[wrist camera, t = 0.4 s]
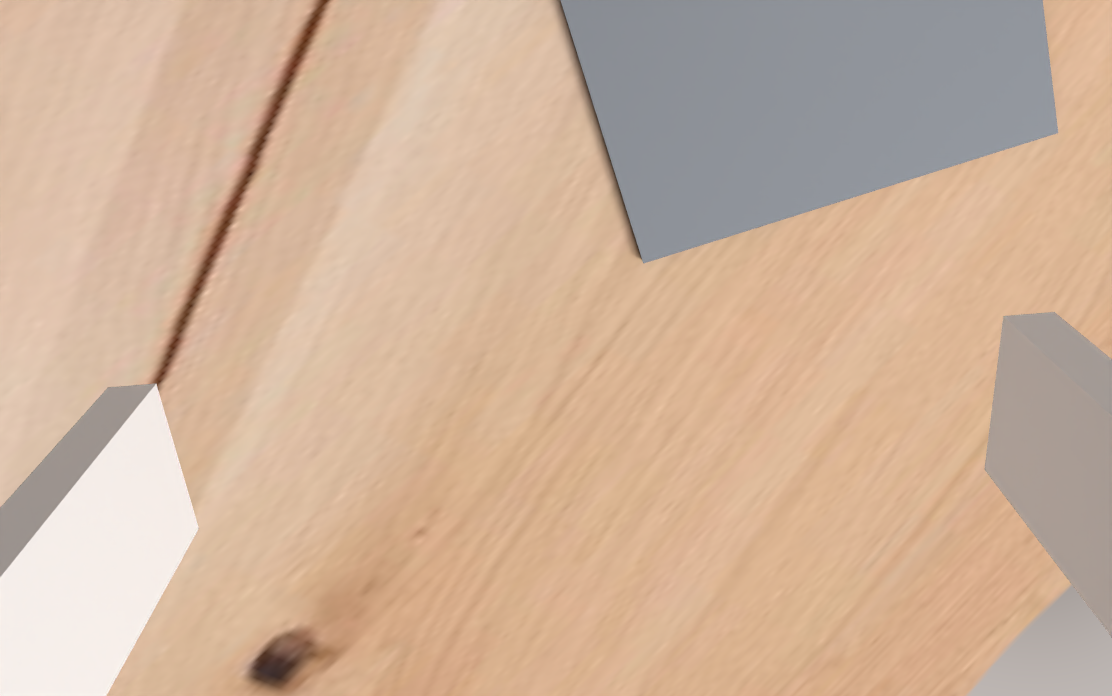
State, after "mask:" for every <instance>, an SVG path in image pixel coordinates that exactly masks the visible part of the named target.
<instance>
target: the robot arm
mask: <svg viewBox="0 0 1112 696" xmlns="http://www.w3.org/2000/svg"><path fill="white" fill-rule="evenodd" d="M985 471H986V472H987V473H988V475H989V476H990V477H991V479H992V480H993V481H994V483H995V484H996V485H997V487H998V488H999V489H1000V491H1001V492H1002V493H1003V494H1004V496H1005V497H1006V498H1007V500H1008V501H1009V502H1010V504H1011V505H1012V506H1013V508H1014V509H1015V510H1016V512H1017V513H1018V514H1019V516H1020V517H1021V518H1022V519H1023V521H1024V522H1025V523H1026V525H1027V526H1028V527H1029V529H1030V530H1031V531H1032V533H1033V534H1034V535H1035V537H1036V538H1037V539H1038V541H1039V542H1040V543H1041V544H1042V546H1043V547H1044V548H1045V550H1046V551H1047V552H1048V554H1049V555H1050V556H1051V558H1052V559H1053V560H1054V562H1055V563H1056V564H1057V566H1058V567H1059V568H1060V569H1061V571H1062V572H1063V573H1064V575H1065V576H1066V577H1067V579H1068V580H1069V581H1070V583H1071V584H1072V585H1073V587H1074V588H1075V589H1076V591H1077V592H1078V593H1079V594H1080V596H1081V597H1082V598H1083V600H1084V601H1085V602H1086V604H1087V605H1088V606H1089V608H1090V609H1091V610H1092V612H1093V613H1094V614H1095V616H1096V617H1097V618H1098V619H1099V621H1100V622H1101V623H1102V625H1103V626H1104V627H1105V629H1106V630H1107V631H1108V632H1109V634H1110V635H1111V636H1112V359H1111V358H1109V357H1108V356H1107V355H1106V354H1105V353H1103V352H1102V351H1101V350H1100V349H1098V348H1097V347H1096V346H1095V345H1094V344H1092V343H1091V342H1090V341H1089V340H1088V339H1086V338H1085V337H1084V336H1083V335H1081V334H1080V333H1079V332H1078V331H1077V330H1075V329H1074V328H1073V327H1072V326H1071V325H1069V324H1068V323H1067V322H1066V321H1064V320H1063V319H1062V318H1061V317H1060V316H1058V315H1057V314H1056V313H1055V312H1049V313H1037V314H1024V315H1012V316H1003V324H1002V332H1001V340H1000V348H999V356H998V364H997V372H996V381H995V389H994V397H993V405H992V413H991V421H990V429H989V437H988V445H987V453H986V462H985ZM198 529H199V527H198V524H197V521H196V517H195V514H194V511H193V507H192V504H191V500H190V497H189V494H188V490H187V487H186V483H185V480H184V477H183V473H182V470H181V466H180V463H179V460H178V456H177V453H176V449H175V446H174V443H173V439H172V436H171V432H170V429H169V426H168V422H167V419H166V416H165V412H164V409H163V405H162V402H161V399H160V395H159V392H158V388H157V385H156V384H146V385H133V386H121V387H108V388H107V389H106V390H105V391H104V393H103V394H102V395H101V396H100V397H99V398H98V399H97V400H96V401H95V403H94V404H93V405H92V406H91V407H90V408H89V409H88V410H87V412H86V413H85V414H84V415H83V416H82V417H81V418H80V419H79V420H78V422H77V423H76V424H75V425H74V426H73V427H72V428H71V429H70V431H69V432H68V433H67V434H66V435H65V436H64V437H63V438H62V439H61V441H60V442H59V443H58V444H57V445H56V446H55V447H54V448H53V449H52V451H51V452H50V453H49V454H48V455H47V456H46V457H45V458H44V460H43V461H42V462H41V463H40V464H39V465H38V466H37V467H36V468H35V470H34V471H33V472H32V473H31V474H30V475H29V476H28V477H27V478H26V480H25V481H24V482H23V483H22V484H21V485H20V486H19V487H18V489H17V490H16V491H15V492H14V493H13V494H12V495H11V496H10V497H9V499H8V500H7V501H6V502H5V503H4V504H3V505H2V506H1V508H0V696H106V695H107V694H108V692H109V690H110V688H111V686H112V685H113V683H114V681H115V679H116V677H117V676H118V674H119V672H120V670H121V668H122V666H123V665H124V663H125V661H126V659H127V657H128V656H129V654H130V652H131V650H132V648H133V647H134V645H135V643H136V641H137V639H138V638H139V636H140V634H141V632H142V630H143V628H144V627H145V625H146V623H147V621H148V619H149V618H150V616H151V614H152V612H153V610H154V609H155V607H156V605H157V603H158V601H159V600H160V598H161V596H162V594H163V592H164V590H165V589H166V587H167V585H168V583H169V581H170V580H171V578H172V576H173V574H174V572H175V571H176V569H177V567H178V565H179V563H180V562H181V560H182V558H183V556H184V554H185V553H186V551H187V549H188V547H189V545H190V543H191V542H192V540H193V538H194V536H195V534H196V533H197V531H198Z"/></svg>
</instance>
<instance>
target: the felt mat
mask: <svg viewBox="0 0 1112 696" xmlns="http://www.w3.org/2000/svg"><path fill="white" fill-rule="evenodd" d="M561 3H562V7H563V10H564V13H565V16H566V19H567V22H568V26H569V29H570V32H571V35H572V38H573V41H574V45H575V48H576V51H577V54H578V57H579V61H580V64H581V67H582V70H583V73H584V76H585V80H586V83H587V86H588V89H589V92H590V95H591V99H592V102H593V105H594V108H595V111H596V115H597V118H598V121H599V124H600V127H601V130H602V134H603V137H604V140H605V143H606V146H607V149H608V153H609V156H610V159H611V162H612V165H613V169H614V172H615V175H616V178H617V181H618V184H619V188H620V191H621V194H622V197H623V200H624V203H625V207H626V210H627V213H628V216H629V219H630V223H631V226H632V229H633V232H634V235H635V238H636V242H637V245H638V248H639V251H640V254H641V257H642V261H643V263H646V262H649V261H653V260H656V259H659V258H662V257H665V256H668V255H672V254H675V253H678V252H681V251H684V250H688V249H691V248H694V247H697V246H700V245H703V244H707V243H710V242H713V241H716V240H719V239H723V238H726V237H729V236H732V235H735V234H738V233H742V232H745V231H748V230H751V229H754V228H757V227H761V226H764V225H767V224H770V223H773V222H777V221H780V220H783V219H786V218H789V217H792V216H796V215H799V214H802V213H805V212H808V211H812V210H815V209H818V208H821V207H824V206H827V205H831V204H834V203H837V202H840V201H843V200H846V199H850V198H853V197H856V196H859V195H862V194H866V193H869V192H872V191H875V190H878V189H881V188H885V187H888V186H891V185H894V184H897V183H901V182H904V181H907V180H910V179H913V178H916V177H920V176H923V175H926V174H929V173H932V172H935V171H939V170H942V169H945V168H948V167H951V166H955V165H958V164H961V163H964V162H967V161H970V160H974V159H977V158H980V157H983V156H986V155H990V154H993V153H996V152H999V151H1002V150H1005V149H1009V148H1012V147H1015V146H1018V145H1021V144H1024V143H1028V142H1031V141H1034V140H1037V139H1040V138H1044V137H1047V136H1050V135H1053V134H1056V133H1058V127H1057V119H1056V110H1055V102H1054V93H1053V85H1052V76H1051V68H1050V59H1049V51H1048V43H1047V34H1046V26H1045V17H1044V9H1043V0H561Z"/></svg>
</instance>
